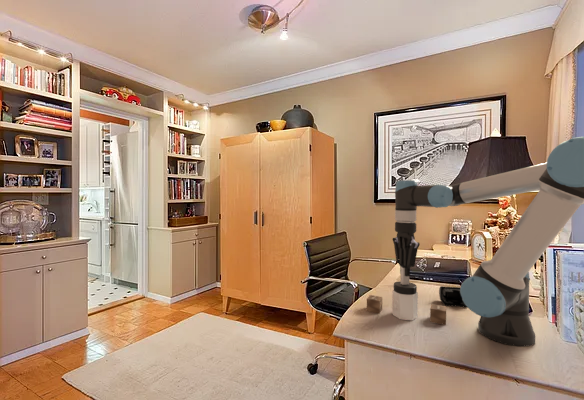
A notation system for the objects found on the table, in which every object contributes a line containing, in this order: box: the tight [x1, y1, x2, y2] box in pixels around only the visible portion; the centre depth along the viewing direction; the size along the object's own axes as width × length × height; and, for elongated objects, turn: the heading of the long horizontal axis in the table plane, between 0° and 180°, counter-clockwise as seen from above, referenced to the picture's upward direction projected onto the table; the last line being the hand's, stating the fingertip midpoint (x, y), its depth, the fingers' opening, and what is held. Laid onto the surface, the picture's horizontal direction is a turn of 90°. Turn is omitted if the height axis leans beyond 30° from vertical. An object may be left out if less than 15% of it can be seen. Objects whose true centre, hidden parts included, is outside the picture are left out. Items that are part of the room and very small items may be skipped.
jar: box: [391, 280, 419, 321], centre depth 112 cm, size 9×8×12 cm
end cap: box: [438, 285, 468, 308], centre depth 124 cm, size 10×7×7 cm
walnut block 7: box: [366, 294, 383, 314], centre depth 117 cm, size 5×5×5 cm
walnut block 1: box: [429, 303, 447, 326], centre depth 107 cm, size 5×5×5 cm
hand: (404, 283), depth 111 cm, fingers closed
